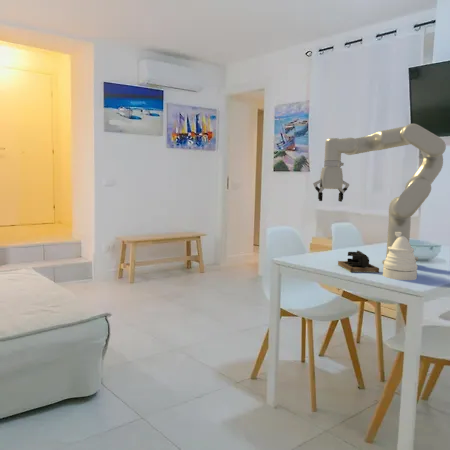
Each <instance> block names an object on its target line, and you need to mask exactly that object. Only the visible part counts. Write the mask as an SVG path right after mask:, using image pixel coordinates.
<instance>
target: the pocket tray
mask: <svg viewBox="0 0 450 450" xmlns="http://www.w3.org/2000/svg"><path fill="white" fill-rule="evenodd" d="M348 264H349V263H348V262H347V260H338V261H337V266H339V267H340V268H342V269H344V270H346V271H347V272H350V273H380V268H379V267H378V266H375V265H374V264H371V263H369V264H368V266H367V267H365V268H353V267H351V266H349V265H348Z"/></svg>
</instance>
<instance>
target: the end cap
mask: <svg viewBox="0 0 450 450" xmlns="http://www.w3.org/2000/svg"><path fill="white" fill-rule="evenodd" d="M347 256H349V257H352V258H347V260H346V261H347V262H348V263H349V264H348V265H349V266H351V267H353V268H365V267H367V266H368V264H370V258H369V256H367V255H366V254H365V253H363V252H362V251H360V250H356V251H348V252H347Z"/></svg>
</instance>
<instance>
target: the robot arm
mask: <svg viewBox="0 0 450 450" xmlns="http://www.w3.org/2000/svg"><path fill="white" fill-rule="evenodd" d="M409 145H411V146H413V147H415V148H417V150H420V153H421V155H422V159H423V160H422V163H421V164H420V166H419V167H418V169H417V170H416V171H415V172H414V174H413V175H412V176H411V177H410V179H409V180H408V181H407V182H406V183H405V186H404V190H403V191H402V192H401V194H400V195H399V196H397V197H394V198H393V199H392V200H391V201H390V203H389V206H388V228H387V240H386V253H385V254H386V257H387V254H388V253H389V251H390V250H389V249H388V247H389V246H392V245H393V243H394V242H395V240H396V239H397V238H398V237H397V236H396V235H395V232H402V234H401V236H404V237H406V238H407V240H408V241H409V242H410V238H411V237H410V236H411V219H412V218H411V217H412V216H413V215H415V213H416V212H417V210H419V208H420V207H421V206H422V205H423V203H424V202H425V201H426V200H427V198H428V197H429V196H430V193H431V191H432V184H433V182H434V181H435V180H436V178H437V177H438V176H439V174H440V172H441V171H442V169H443V166H444V155H443V154H444V153H445V152H446V149H447V145H446V142H445V141H444V139H443V138H441V137H439V136H438V135H436V134H435V133H433V132H431V131H429V129H426V128H425V127H423V126H421V125H420V124H417V123H410V124H409V123H408V124H406V125H404V126H399V127H395V128H391V129H385V130H379V131H376V132H373V133H372V134H369V135H365V136H360V137H356V138H355V137H345V138H343V137H342V138H339V137H337V138H336V137H335V138H334V137H330V138H327V139H325V144H324V146H325V147H324V162H323V163H324V165H323V166H324V167H322V168H321V171H320V178H319V180H316V181H314V182H313V183H312V184H313V187H314V189H315V191H317V194H318V195H317V199H318V201H319V202H322V201H323V194H324V193H323V191H324V190H326V189H327V190H338V191H339V193H338V202H343V199H344V193H345V192H346V191H347V190H348V188H349V187H350V183H348V182H347V181H345V180H344V179H343V178H344V176H343V168H342V166H344V162H342V154H344V155H347V156H352V155H359V154H363V153H369V152H375V151H382V150H388V149H392V148H399V147H404V146H409ZM318 185H319V187H318ZM343 185H344V187H343ZM386 257H385V258H386ZM385 260H386V259H382V261H381V263H382V264H383V265H384V261H385ZM415 260H416V262H418V261H419V257H417V256H415Z"/></svg>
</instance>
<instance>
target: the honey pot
mask: <svg viewBox="0 0 450 450" xmlns="http://www.w3.org/2000/svg"><path fill="white" fill-rule="evenodd" d="M401 234H402V232H395V235H396V236H397V237H398V238H397V239H396V240H395V242H394V243H393V245H392V246H389V247H388V249H389V250H390V251H389V253H388V254H387V257H385V259H384V260H385V261H384V264H383V269H382V276H383V277H384V278H386V279H392V280H397V281H398V280H399V281H415V280H417V278H418V277H417V276H418V264H417V261H416V260H415V257H416V256H415V254H414V252H415V249H414V248H413V247H412V245H411V243H410V240H409V241H408V240H407V238H406V237H404V236H401Z"/></svg>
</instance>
